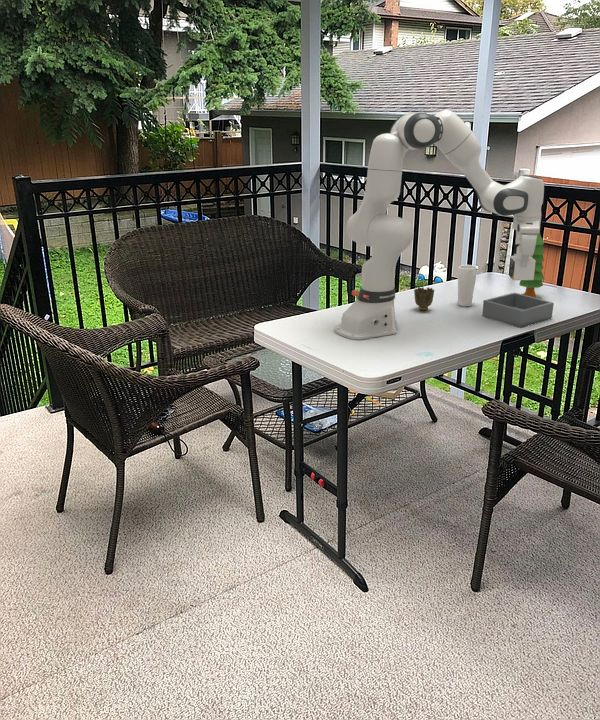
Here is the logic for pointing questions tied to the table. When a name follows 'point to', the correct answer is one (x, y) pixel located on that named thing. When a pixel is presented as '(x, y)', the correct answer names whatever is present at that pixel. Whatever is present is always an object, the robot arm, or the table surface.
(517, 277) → the medicine bottle
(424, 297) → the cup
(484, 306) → the bin
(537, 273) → the decorative tree
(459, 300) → the drinking glass
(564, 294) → the table surface
